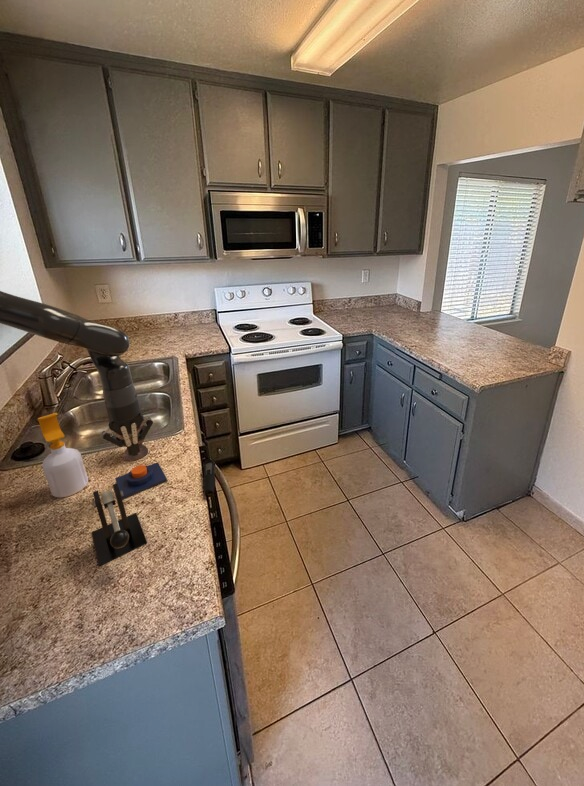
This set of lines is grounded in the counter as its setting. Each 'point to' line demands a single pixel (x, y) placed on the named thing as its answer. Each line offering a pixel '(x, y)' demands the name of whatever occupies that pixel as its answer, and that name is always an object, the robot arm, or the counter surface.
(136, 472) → the button
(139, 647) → the counter surface
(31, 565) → the counter surface
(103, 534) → the switch bracket
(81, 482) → the soap bottle
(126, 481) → the control block
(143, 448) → the mortar and pestle
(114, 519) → the switch lever
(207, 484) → the electric trimmer
